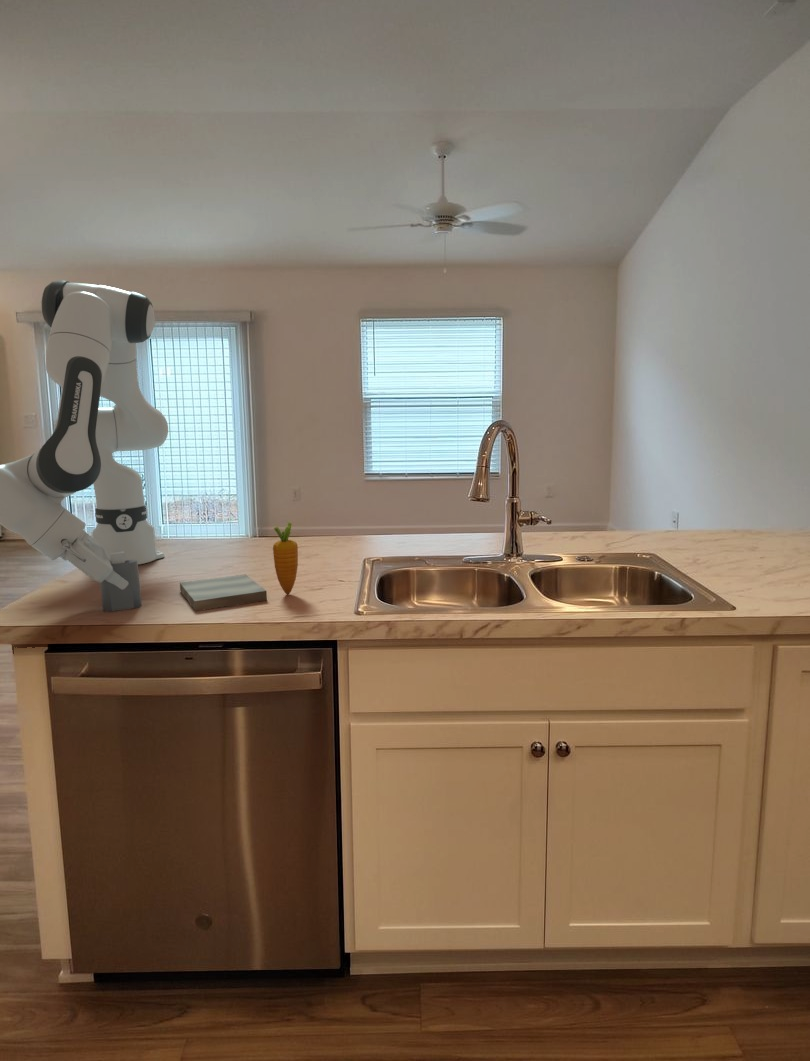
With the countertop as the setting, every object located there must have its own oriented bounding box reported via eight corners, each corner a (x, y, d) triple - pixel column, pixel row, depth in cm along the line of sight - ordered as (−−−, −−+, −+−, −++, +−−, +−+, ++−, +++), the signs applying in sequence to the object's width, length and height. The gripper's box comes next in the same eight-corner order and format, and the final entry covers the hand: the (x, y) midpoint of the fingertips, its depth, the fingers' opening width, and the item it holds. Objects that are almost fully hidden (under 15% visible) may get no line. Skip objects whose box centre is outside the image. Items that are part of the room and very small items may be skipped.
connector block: (103, 612, 128) (97, 556, 126) (102, 608, 131) (96, 553, 129) (142, 606, 131) (137, 552, 129) (140, 603, 134) (135, 549, 132)
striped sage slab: (180, 591, 142) (179, 582, 141) (246, 582, 148) (245, 574, 148) (195, 611, 128) (194, 601, 128) (266, 600, 134) (266, 590, 134)
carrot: (276, 598, 135) (272, 525, 133) (274, 592, 140) (270, 521, 137) (301, 596, 137) (298, 524, 134) (298, 590, 141) (294, 520, 139)
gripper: (76, 532, 116) (141, 579, 122) (71, 516, 134) (128, 558, 140) (49, 560, 115) (117, 606, 121) (49, 540, 132) (107, 581, 139)
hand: (123, 580), depth 130 cm, fingers open, 8 cm apart
